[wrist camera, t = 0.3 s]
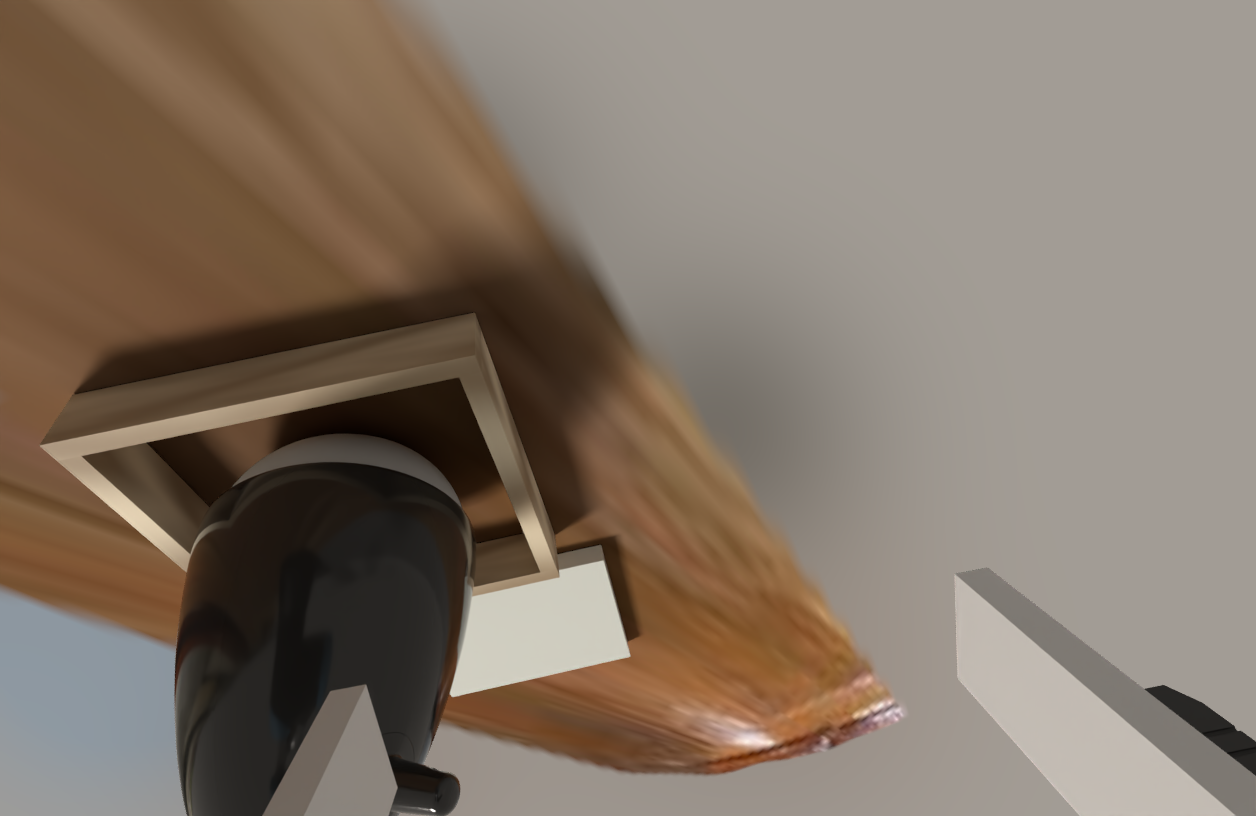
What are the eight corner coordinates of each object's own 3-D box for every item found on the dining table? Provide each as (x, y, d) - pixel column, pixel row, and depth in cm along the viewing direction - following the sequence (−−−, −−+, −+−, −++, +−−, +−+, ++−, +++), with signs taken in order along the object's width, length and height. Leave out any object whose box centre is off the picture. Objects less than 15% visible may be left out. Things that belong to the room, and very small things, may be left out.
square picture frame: (72, 394, 23) (39, 445, 21) (474, 312, 24) (475, 355, 22) (278, 596, 33) (267, 642, 32) (555, 535, 34) (559, 577, 32)
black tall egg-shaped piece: (520, 495, 31) (546, 869, 20) (340, 571, 33) (275, 954, 22) (385, 352, 24) (315, 807, 13) (164, 457, 26) (-57, 939, 15)
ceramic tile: (382, 592, 35) (381, 609, 34) (601, 544, 35) (603, 560, 34) (452, 682, 43) (452, 696, 42) (627, 642, 44) (630, 656, 43)
